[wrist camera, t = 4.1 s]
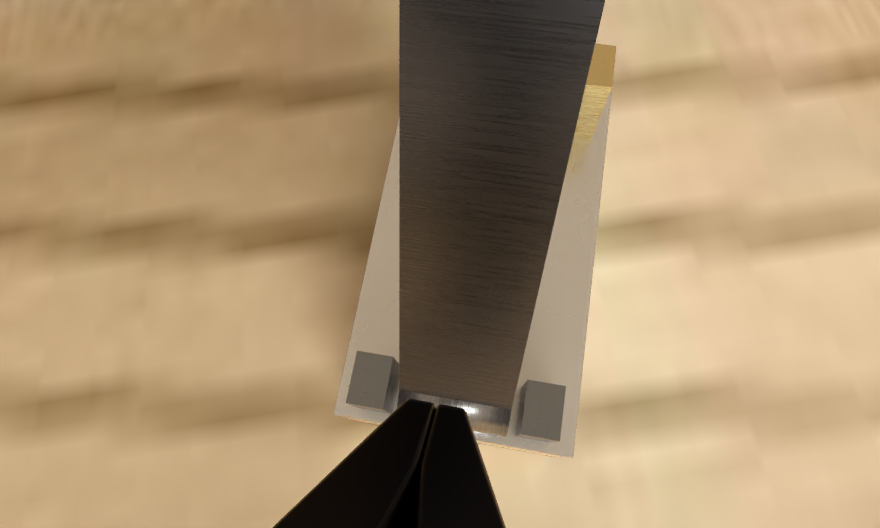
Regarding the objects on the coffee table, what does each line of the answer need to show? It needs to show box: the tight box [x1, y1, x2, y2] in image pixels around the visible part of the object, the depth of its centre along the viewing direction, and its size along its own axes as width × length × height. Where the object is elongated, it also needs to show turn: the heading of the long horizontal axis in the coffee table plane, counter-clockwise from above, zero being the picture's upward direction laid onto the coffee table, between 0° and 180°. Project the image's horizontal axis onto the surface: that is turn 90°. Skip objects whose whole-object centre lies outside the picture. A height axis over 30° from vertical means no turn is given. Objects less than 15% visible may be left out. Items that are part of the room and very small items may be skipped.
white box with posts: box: [334, 44, 616, 458], centre depth 20 cm, size 12×7×8 cm, turn 170°
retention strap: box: [397, 0, 605, 437], centre depth 13 cm, size 2×3×12 cm
